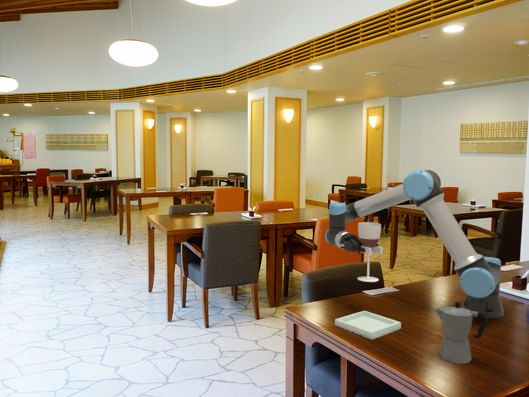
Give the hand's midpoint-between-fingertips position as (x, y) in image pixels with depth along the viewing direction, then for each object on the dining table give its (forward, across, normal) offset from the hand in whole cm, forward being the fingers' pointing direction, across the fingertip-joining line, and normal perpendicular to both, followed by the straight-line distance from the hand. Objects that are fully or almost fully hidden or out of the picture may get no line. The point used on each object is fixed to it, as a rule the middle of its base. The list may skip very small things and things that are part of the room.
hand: (376, 251), depth 175 cm
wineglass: (-5, 0, -12) cm, 13 cm away
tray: (+6, +6, -27) cm, 28 cm away
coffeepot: (+38, -7, -27) cm, 47 cm away
